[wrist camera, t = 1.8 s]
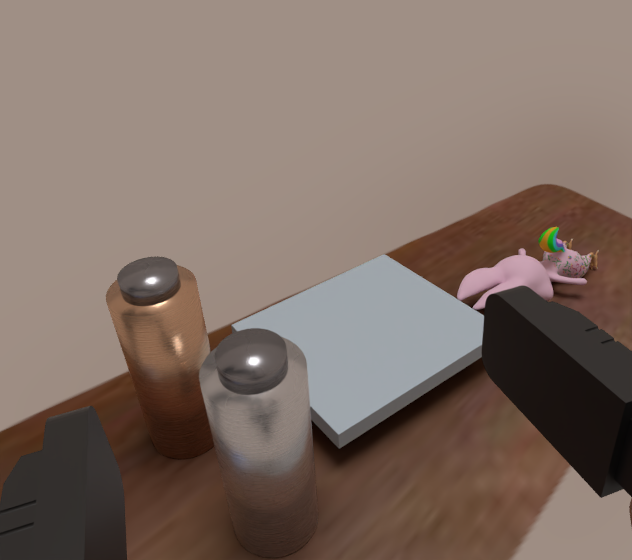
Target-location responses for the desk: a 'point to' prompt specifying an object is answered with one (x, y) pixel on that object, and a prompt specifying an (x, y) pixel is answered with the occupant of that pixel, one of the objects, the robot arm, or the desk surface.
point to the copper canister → (164, 351)
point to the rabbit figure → (530, 271)
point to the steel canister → (263, 439)
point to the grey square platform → (373, 343)
